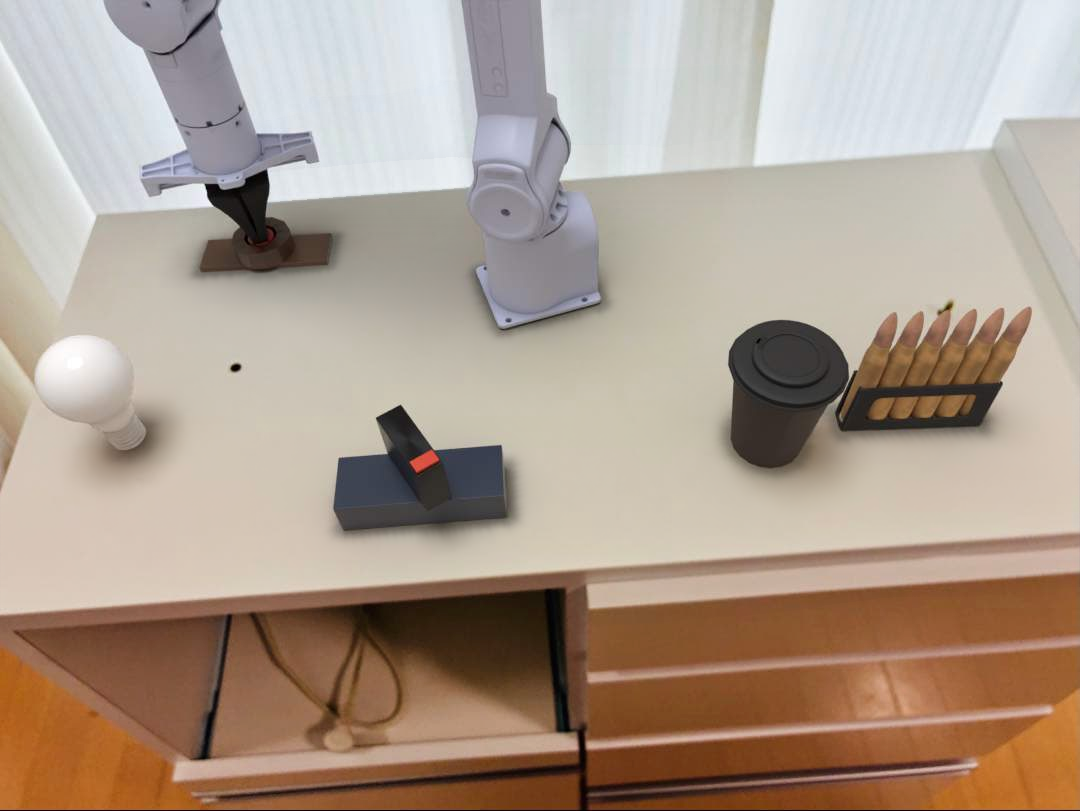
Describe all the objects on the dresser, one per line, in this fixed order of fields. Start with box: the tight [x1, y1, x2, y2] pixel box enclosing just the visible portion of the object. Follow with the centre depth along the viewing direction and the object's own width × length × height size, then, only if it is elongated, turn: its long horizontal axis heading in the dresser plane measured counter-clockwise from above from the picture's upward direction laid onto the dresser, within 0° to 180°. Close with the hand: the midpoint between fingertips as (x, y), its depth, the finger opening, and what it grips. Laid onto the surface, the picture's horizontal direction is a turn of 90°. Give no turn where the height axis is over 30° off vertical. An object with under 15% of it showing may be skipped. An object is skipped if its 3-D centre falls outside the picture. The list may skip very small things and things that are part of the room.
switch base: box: [332, 444, 508, 531], centre depth 60 cm, size 12×4×3 cm, turn 94°
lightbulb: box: [33, 334, 147, 451], centre depth 62 cm, size 6×6×11 cm
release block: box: [199, 216, 333, 273], centre depth 78 cm, size 12×5×2 cm, turn 92°
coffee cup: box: [727, 319, 850, 469], centre depth 59 cm, size 8×8×10 cm
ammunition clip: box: [834, 306, 1033, 432], centre depth 59 cm, size 11×2×12 cm, turn 91°
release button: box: [248, 228, 275, 247], centre depth 78 cm, size 2×2×2 cm
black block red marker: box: [375, 404, 452, 512], centre depth 57 cm, size 6×2×5 cm, turn 34°
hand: (260, 237), depth 77 cm, fingers closed, pressing on release button
